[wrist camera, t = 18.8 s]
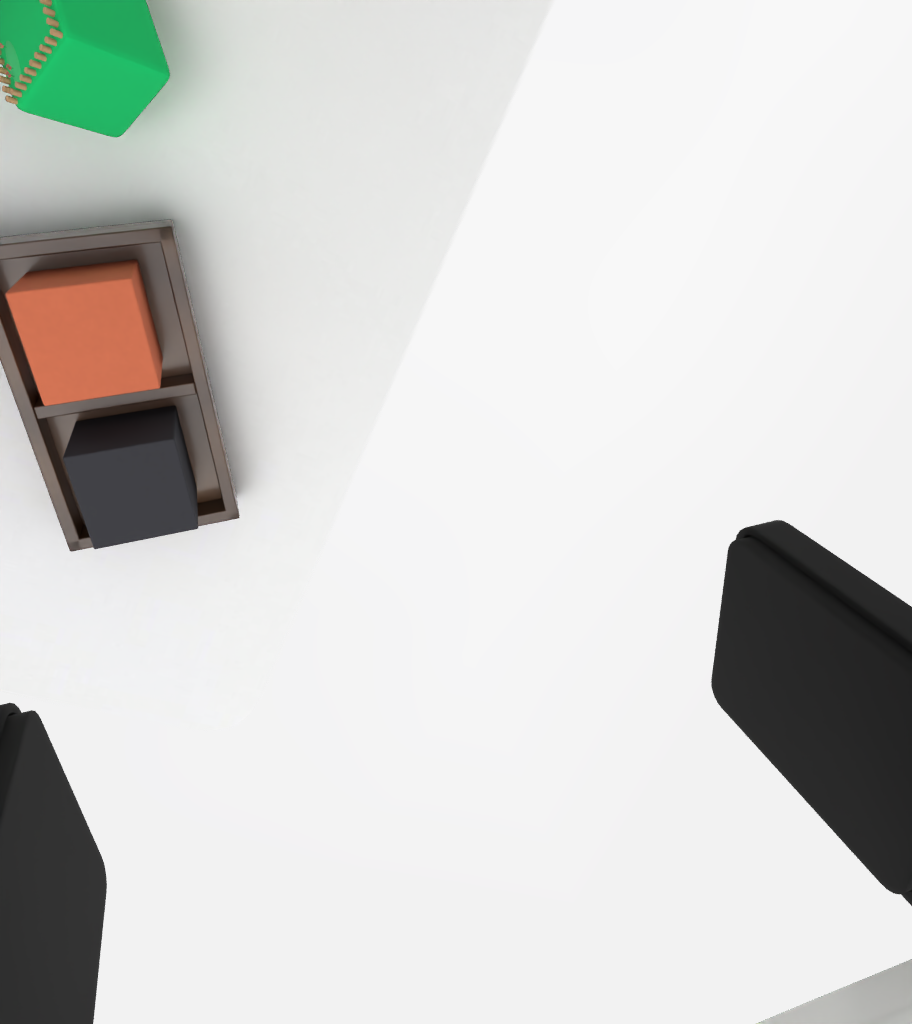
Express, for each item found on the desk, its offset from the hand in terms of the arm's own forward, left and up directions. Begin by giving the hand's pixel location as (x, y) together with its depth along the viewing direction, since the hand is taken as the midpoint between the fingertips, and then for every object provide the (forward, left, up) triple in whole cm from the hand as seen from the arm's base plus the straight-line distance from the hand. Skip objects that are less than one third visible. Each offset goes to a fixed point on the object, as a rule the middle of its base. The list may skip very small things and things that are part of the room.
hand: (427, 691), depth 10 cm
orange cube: (+1, -7, -29) cm, 30 cm away
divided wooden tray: (+4, -7, -30) cm, 31 cm away
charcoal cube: (+7, -7, -29) cm, 31 cm away
